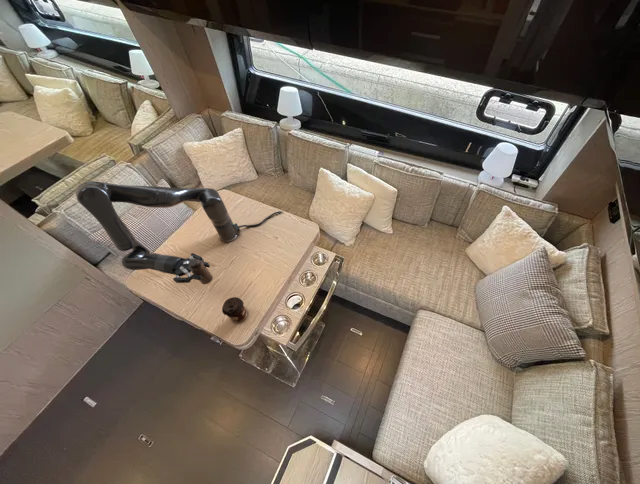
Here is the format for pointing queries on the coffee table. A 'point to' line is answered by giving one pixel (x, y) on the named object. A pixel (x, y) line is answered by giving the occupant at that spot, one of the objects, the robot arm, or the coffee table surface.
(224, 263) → the coffee table surface
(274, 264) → the coffee table surface
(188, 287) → the coffee table surface
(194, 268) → the pepper mill
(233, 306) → the dark brown cylinder
